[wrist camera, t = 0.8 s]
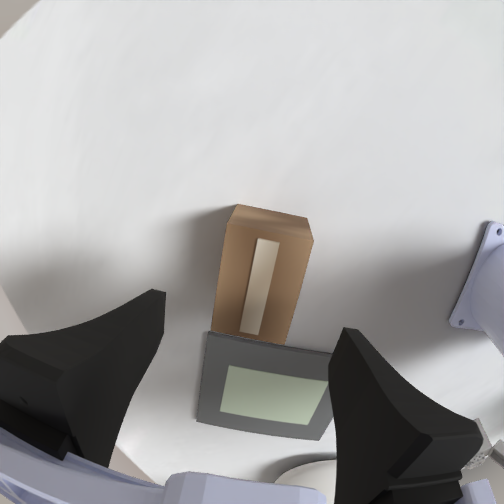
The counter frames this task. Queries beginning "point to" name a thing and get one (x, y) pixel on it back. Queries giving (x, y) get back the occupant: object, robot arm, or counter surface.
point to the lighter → (487, 451)
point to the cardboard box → (261, 273)
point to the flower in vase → (313, 477)
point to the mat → (264, 388)
